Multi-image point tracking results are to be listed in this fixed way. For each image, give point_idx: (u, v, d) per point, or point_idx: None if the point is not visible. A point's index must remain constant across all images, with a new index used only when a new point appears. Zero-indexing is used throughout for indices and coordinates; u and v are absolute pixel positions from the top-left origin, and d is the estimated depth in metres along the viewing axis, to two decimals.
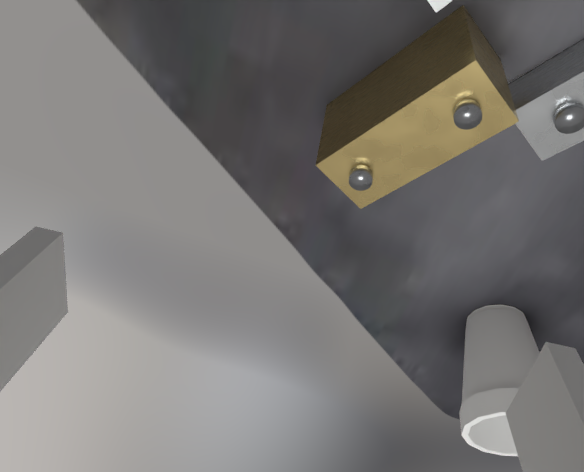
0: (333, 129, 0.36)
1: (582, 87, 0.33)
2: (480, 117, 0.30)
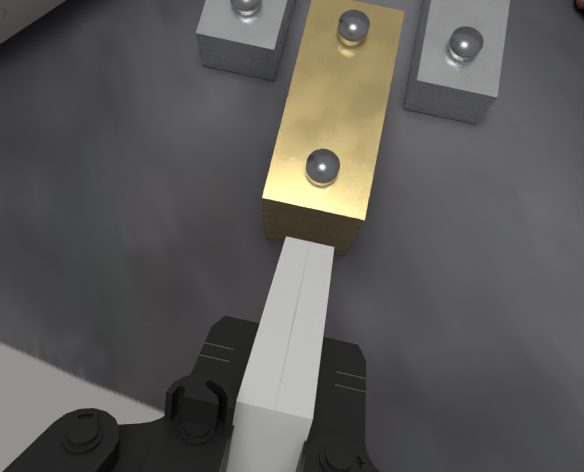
0: None
1: (443, 22, 0.32)
2: (364, 15, 0.26)
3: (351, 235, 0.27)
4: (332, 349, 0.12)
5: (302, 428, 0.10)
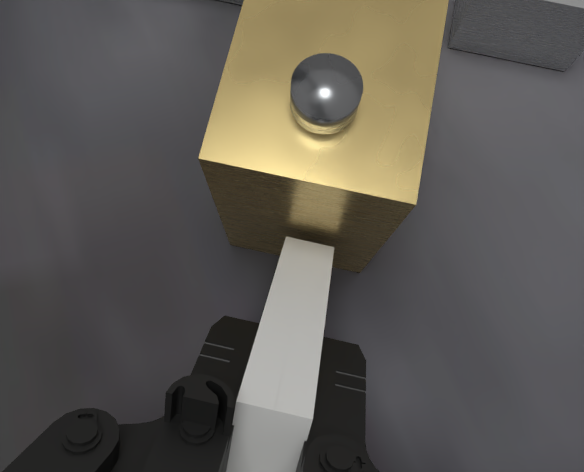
0: None
1: None
2: None
3: (380, 237, 0.14)
4: (332, 349, 0.12)
5: (302, 428, 0.10)
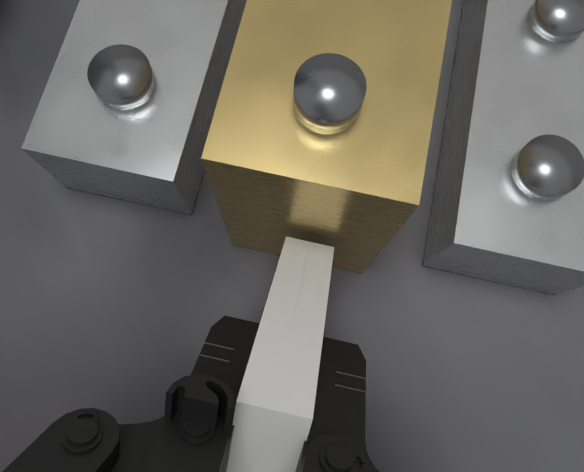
0: None
1: (501, 122, 0.17)
2: None
3: (382, 238, 0.14)
4: (332, 349, 0.12)
5: (302, 428, 0.10)
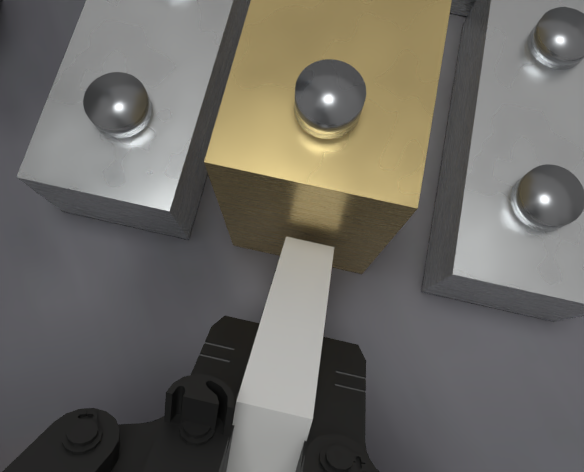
0: None
1: (501, 150, 0.17)
2: None
3: (382, 240, 0.14)
4: (332, 349, 0.12)
5: (302, 428, 0.10)
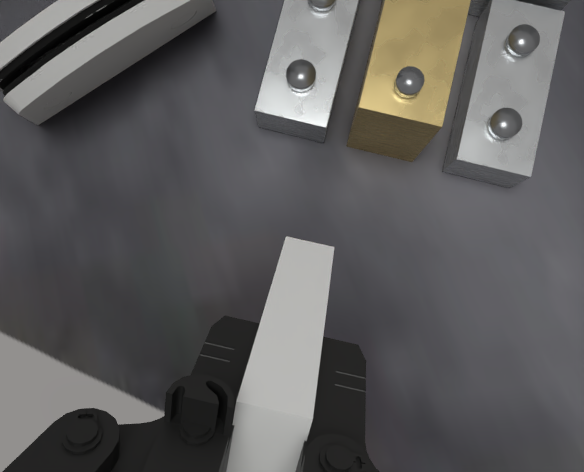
0: None
1: (485, 100, 0.34)
2: None
3: (425, 141, 0.33)
4: (332, 349, 0.12)
5: (302, 428, 0.10)
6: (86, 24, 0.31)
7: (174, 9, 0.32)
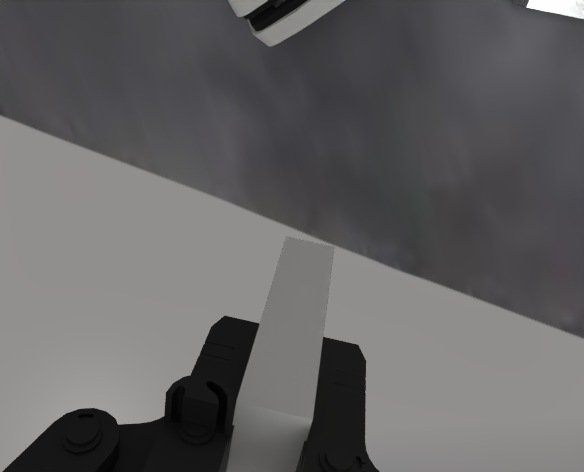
0: None
1: None
2: None
3: None
4: (332, 349, 0.12)
5: (302, 428, 0.10)
6: None
7: None
